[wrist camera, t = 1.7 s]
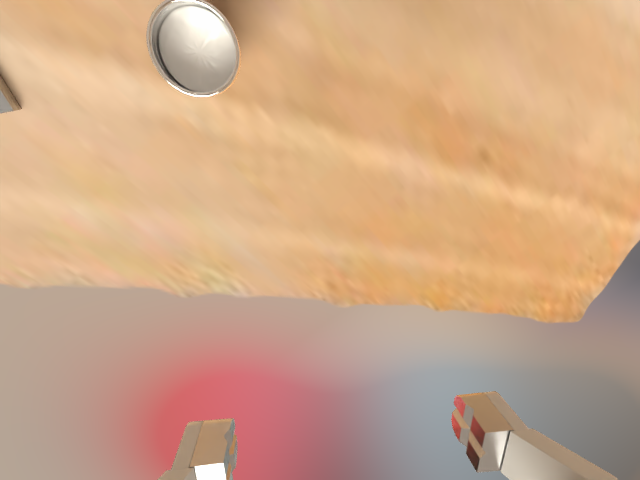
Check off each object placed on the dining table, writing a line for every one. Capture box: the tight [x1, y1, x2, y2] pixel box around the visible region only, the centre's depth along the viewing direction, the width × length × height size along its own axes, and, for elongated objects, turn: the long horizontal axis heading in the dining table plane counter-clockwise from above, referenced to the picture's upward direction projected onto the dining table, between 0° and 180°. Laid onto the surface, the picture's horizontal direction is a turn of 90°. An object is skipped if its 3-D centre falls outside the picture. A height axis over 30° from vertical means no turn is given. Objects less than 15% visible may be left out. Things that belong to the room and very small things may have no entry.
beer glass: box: [146, 0, 241, 97], centre depth 29 cm, size 7×7×15 cm
